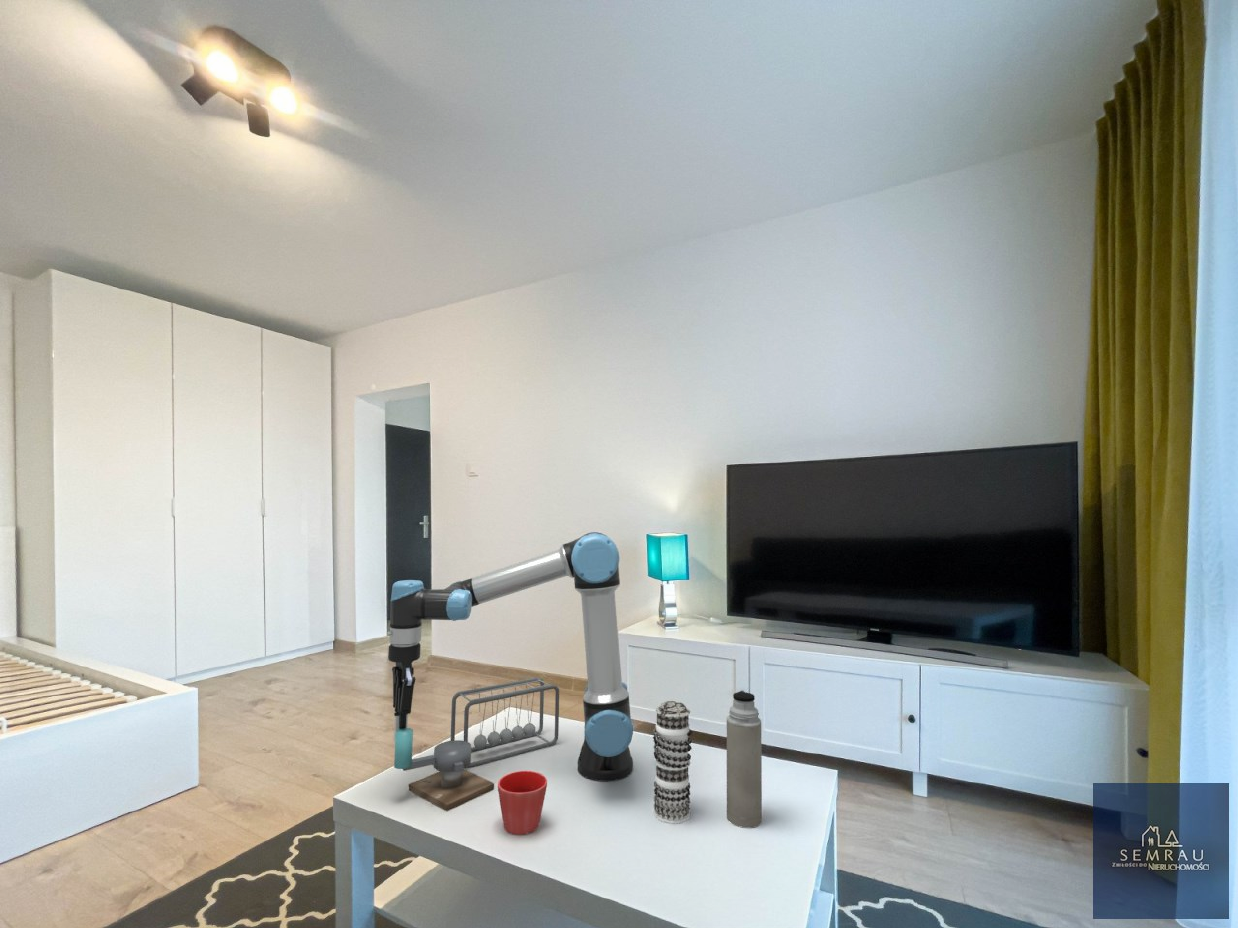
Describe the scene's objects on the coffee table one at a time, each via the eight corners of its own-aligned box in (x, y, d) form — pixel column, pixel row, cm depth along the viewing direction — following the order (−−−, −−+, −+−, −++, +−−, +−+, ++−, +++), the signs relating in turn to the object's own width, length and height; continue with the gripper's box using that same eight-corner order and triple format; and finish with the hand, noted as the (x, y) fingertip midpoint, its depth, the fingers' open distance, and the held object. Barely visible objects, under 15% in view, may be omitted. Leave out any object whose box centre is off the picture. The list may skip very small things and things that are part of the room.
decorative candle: (669, 799, 143) (670, 695, 145) (699, 814, 136) (700, 704, 138) (644, 813, 136) (645, 703, 138) (674, 829, 130) (675, 713, 132)
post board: (494, 789, 147) (494, 764, 147) (446, 811, 136) (447, 784, 136) (455, 770, 157) (456, 747, 157) (408, 790, 146) (409, 765, 146)
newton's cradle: (463, 770, 158) (465, 702, 159) (449, 756, 166) (451, 692, 167) (558, 744, 176) (560, 683, 177) (541, 733, 184) (543, 675, 185)
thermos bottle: (729, 807, 140) (729, 687, 142) (763, 813, 137) (762, 691, 139) (724, 824, 132) (724, 697, 134) (760, 830, 129) (759, 701, 132)
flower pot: (536, 842, 124) (538, 794, 125) (488, 835, 126) (490, 789, 127) (552, 816, 134) (553, 773, 135) (507, 811, 136) (508, 768, 137)
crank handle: (462, 751, 154) (464, 711, 155) (477, 768, 144) (478, 726, 145) (389, 766, 145) (390, 724, 145) (399, 786, 134) (400, 741, 135)
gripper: (383, 639, 149) (378, 734, 147) (395, 650, 138) (390, 753, 137) (413, 636, 153) (409, 728, 152) (427, 647, 142) (423, 746, 141)
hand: (400, 740), depth 144 cm, fingers closed
